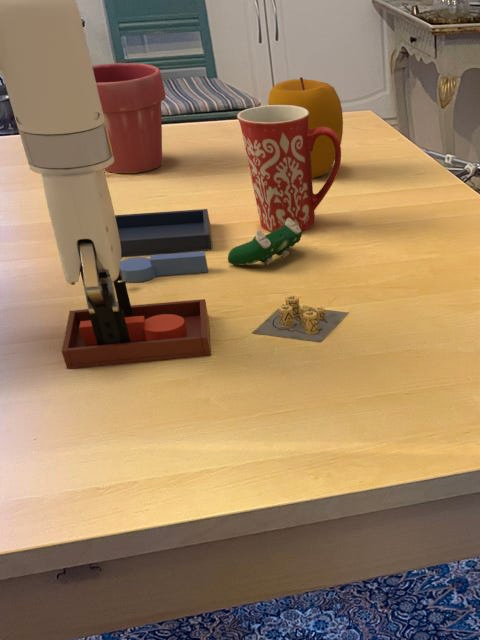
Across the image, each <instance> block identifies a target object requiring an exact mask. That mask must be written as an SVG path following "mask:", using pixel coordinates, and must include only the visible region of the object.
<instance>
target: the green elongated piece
mask: <svg viewBox="0 0 480 640" xmlns="http://www.w3.org/2000/svg"><path fill="white" fill-rule="evenodd" d="M302 236H303V230H302V231H301V229H300V228H299V226H297V225H296V223H295V222H294V221H293V220H292V219H290V218H287V220H286V223H284V225H283V227H282V228H279V229H276V230H274V231H273V232H270V233H267V234H265V233H264V232H263V231H261V230H257V231H256V232H255V236H254V237H253V238H252V240H250V241H247V242H245V243H243V244H240V245H237V246H235V247H233V248H232V249H230V251H229V252H228V255H227V261H228V263H229V264H231V265H233V266H245V265H252V264H256V263H258V262H261V263H262V264H265V265H267V266H269V265H271V264H272V263H273V261H274V259H273V256H274V255H277V256H279V257H281V258H285V257H287V256H288V255H289V253H290V252H289V251H288V250H289V248H292V247H294V246H295V245H296V244H298V243H299V242H300V241H301V239H302Z"/></svg>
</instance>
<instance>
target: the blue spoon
mask: <svg viewBox="0 0 480 640" xmlns="http://www.w3.org/2000/svg"><path fill="white" fill-rule="evenodd" d="M149 255H150V256H149V258H148V257H142V256H141V257H139V256H137V257H130V258H126V259H123V260H121V262H120V269H121V273H122V277H123V281H122V282H125V283H141V282H142V283H143V282H146V281H150V280H152V279H155V277H164V276H165V277H166V276H177V275H179V276H180V275H191V274H203V273H208V271H209V268H208V262H207V261H208V260H207V257H206V250H201V251H188V252H175V253H162V254H149Z"/></svg>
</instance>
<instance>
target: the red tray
mask: <svg viewBox="0 0 480 640" xmlns="http://www.w3.org/2000/svg"><path fill="white" fill-rule="evenodd" d="M131 308H132V312H133V317H134V316H144V317H145V320H146V319H148V318H150V317H153V316H156V315H163V314H172V315H178V316H180V317H182V318H183V319H184V321H185V325H186V330H187V335H186V336H185V337H184V338H174V339H163V340H152V341H147V340H140V341H131V343H120V344H109V345H86V346H85V345H84V342H83V338H82V335H81V331H80V328H79V327H80V322H81V321H89V320H90V316H89V309H88V308H86V309H84V308H83V309H74V310H69V313H68V317H67V322H66V328H65V332H64V338H63V342H62V346H61V355H62V357H63V360H64V361H63V362H64V364H65V368H66V369H67V370H69V369H80V368H87V367H88V368H89V367H91V368H92V367H99V366H100V367H101V366H111V365H121V364H131V363H143V362H153V361H162V360H163V361H164V360H173V359H184V358H194V357H205V356H211V355H212V351H211V338H210V336H211V335H210V320H209V313H208V306H207V301H206V299H205V298H202V299H201V298H200V299H190V300H178V301H166V302H155V303H143V304H131Z"/></svg>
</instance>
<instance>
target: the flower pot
mask: <svg viewBox="0 0 480 640" xmlns="http://www.w3.org/2000/svg"><path fill="white" fill-rule="evenodd" d="M92 68H93V72H94V76H95V80H96V85H97V89H98V93H99V98H100V102H101V106H102V111H103V115H104V119H105V123H106V127H107V132H108V136H109V140H110V144H111V149H112V153H113V157H114V163H113V164H112V165H110V166H109V167H107V168H104V171H105V172H108V173H115V174H137V173H144V172H148V171H152V170H155V169H158V168H159V167H160V166H162V165H163V126H162V123H163V122H162V120H163V119H162V102H163V101H164V100H165V99H166V90H165V87H164V80H163V78H162V73H161V71H160V69H159V67H157V66H154V65H152V64H146V63H140V62H139V63H137V62H118V63H103V64H95V65H92Z"/></svg>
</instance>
